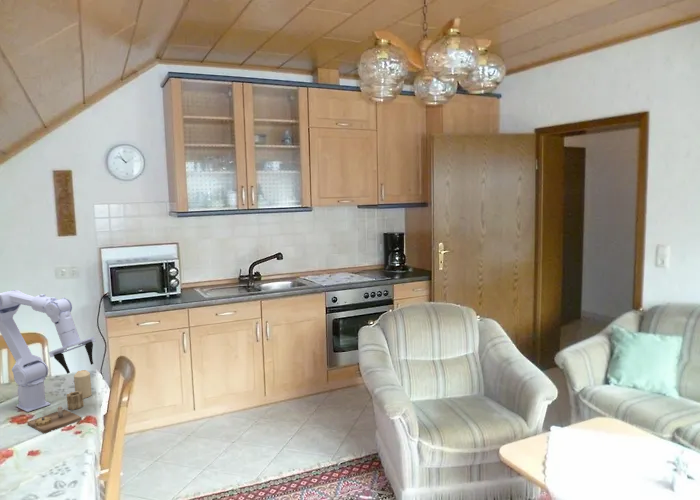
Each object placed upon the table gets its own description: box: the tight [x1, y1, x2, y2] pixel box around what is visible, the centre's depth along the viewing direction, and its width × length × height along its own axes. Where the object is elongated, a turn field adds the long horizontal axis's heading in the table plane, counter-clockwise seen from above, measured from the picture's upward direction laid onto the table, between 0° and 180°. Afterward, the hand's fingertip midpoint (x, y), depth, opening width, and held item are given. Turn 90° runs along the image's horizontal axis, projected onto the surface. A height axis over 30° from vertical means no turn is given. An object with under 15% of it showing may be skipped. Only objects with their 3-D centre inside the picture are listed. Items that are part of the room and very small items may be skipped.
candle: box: [73, 369, 92, 399], centre depth 193 cm, size 6×6×10 cm
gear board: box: [26, 405, 83, 434], centre depth 171 cm, size 12×12×5 cm
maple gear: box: [66, 391, 85, 411], centre depth 183 cm, size 5×5×5 cm
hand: (80, 368), depth 177 cm, fingers open, 7 cm apart
